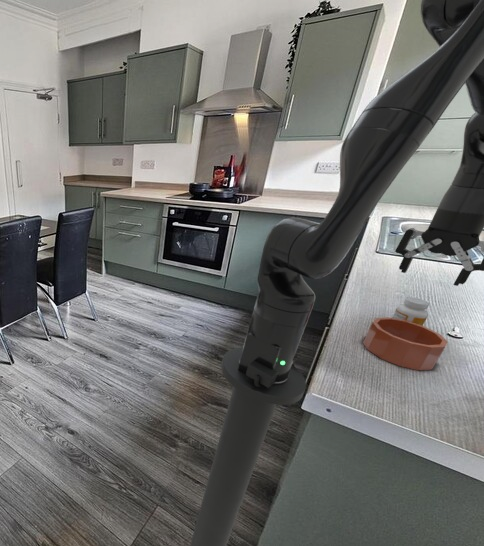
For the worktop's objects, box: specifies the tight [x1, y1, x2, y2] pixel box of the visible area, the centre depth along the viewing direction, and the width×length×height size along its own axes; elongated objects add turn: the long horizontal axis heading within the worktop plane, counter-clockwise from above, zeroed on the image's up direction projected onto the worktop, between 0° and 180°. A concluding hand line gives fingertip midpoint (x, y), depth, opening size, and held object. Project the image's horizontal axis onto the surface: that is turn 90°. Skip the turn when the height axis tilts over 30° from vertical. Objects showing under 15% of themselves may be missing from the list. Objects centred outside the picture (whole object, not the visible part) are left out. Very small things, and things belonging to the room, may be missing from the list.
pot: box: [362, 317, 449, 371], centre depth 70 cm, size 12×12×6 cm
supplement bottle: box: [391, 296, 430, 326], centre depth 76 cm, size 5×5×10 cm
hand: (428, 278), depth 72 cm, fingers open, 8 cm apart
